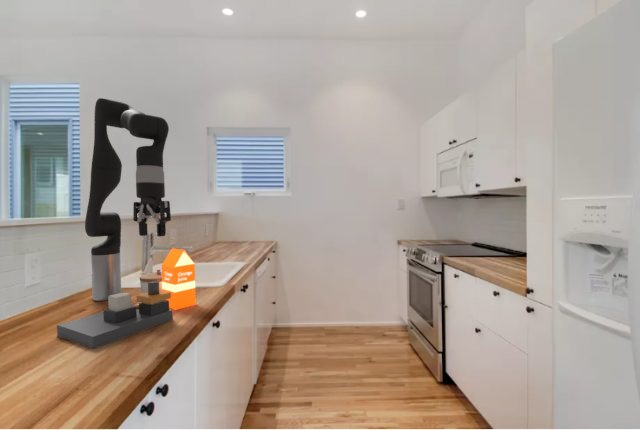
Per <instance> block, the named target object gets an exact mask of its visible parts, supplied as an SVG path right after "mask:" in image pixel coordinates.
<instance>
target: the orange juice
mask: <svg viewBox="0 0 640 430" xmlns="http://www.w3.org/2000/svg"><path fill="white" fill-rule="evenodd" d="M161 272H162V291H166V292H171V298H170V299H166V300H168V301H169V309H170V310H175V311H177V310H180V309H184V308H187V307H191V306H195V305H196V303H197V302H196V300H197V299H196V264H195V262H194V261H193V260H192V258H191V257H190V256H189V254H188V252H186V250H185V249H180V248H174V247H173V248H171V250H169V253H168V254H167V256H166V257H165V259H164V261H163V263H162V264H161Z"/></svg>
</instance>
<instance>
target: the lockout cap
mask: <svg viewBox="0 0 640 430" xmlns="http://www.w3.org/2000/svg"><path fill="white" fill-rule="evenodd" d="M135 298H136V303H147V304H153V303H156V302H160V301H163V300H166V299H170V298H171V292H166V291H160V290H159V281H153V282H148V293H144V294H143V293H140V294H136V297H135Z"/></svg>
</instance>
